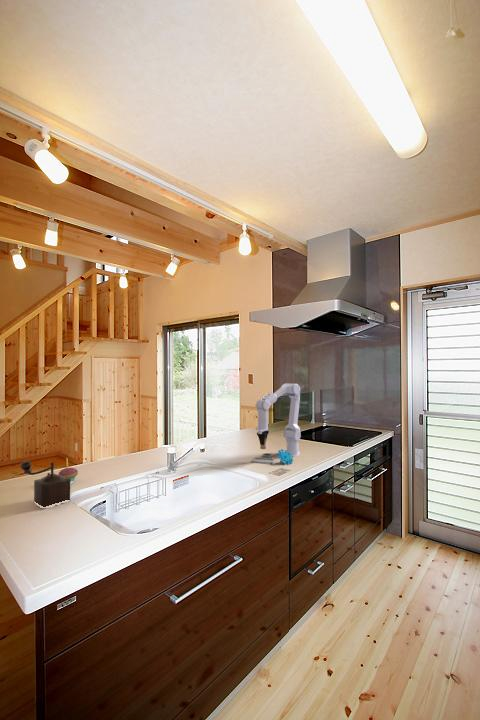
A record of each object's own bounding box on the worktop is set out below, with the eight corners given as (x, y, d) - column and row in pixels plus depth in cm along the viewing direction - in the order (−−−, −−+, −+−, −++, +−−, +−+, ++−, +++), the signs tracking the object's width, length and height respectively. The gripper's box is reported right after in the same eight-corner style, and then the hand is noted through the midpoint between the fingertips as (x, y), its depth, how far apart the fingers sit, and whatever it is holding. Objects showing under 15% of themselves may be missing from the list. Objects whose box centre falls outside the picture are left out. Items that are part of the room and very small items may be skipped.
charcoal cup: (263, 456, 209) (263, 453, 209) (273, 457, 207) (273, 453, 207) (261, 458, 203) (261, 455, 203) (271, 459, 201) (271, 456, 201)
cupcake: (55, 483, 163) (55, 458, 164) (73, 478, 170) (73, 454, 170) (62, 487, 158) (62, 461, 158) (81, 482, 164) (81, 457, 164)
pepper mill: (59, 495, 148) (59, 453, 148) (71, 501, 141) (71, 457, 141) (18, 507, 136) (18, 461, 136) (29, 514, 129) (29, 466, 129)
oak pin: (261, 447, 199) (261, 437, 199) (266, 448, 198) (266, 437, 198) (259, 449, 196) (259, 438, 197) (264, 449, 195) (264, 438, 196)
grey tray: (255, 459, 203) (255, 457, 203) (274, 460, 199) (274, 458, 199) (251, 462, 195) (251, 460, 195) (271, 464, 191) (271, 462, 191)
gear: (282, 463, 187) (275, 448, 193) (277, 469, 190) (270, 454, 197) (298, 463, 192) (291, 448, 199) (292, 469, 195) (286, 454, 202)
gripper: (259, 418, 206) (259, 441, 206) (252, 422, 192) (252, 446, 192) (270, 419, 204) (271, 441, 203) (264, 422, 190) (265, 447, 190)
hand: (263, 444), depth 197 cm, fingers closed on oak pin, 3 cm apart
